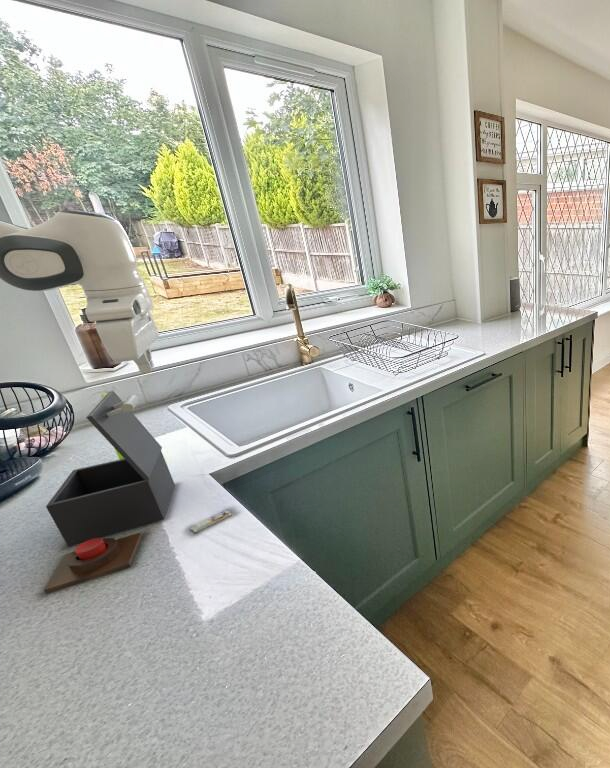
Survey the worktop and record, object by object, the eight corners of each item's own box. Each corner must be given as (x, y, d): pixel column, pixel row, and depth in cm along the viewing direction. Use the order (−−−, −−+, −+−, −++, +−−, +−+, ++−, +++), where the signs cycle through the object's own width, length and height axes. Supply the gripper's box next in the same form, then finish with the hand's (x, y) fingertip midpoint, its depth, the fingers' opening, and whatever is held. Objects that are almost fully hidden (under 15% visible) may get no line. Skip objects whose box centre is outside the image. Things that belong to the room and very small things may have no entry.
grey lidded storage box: (68, 548, 78) (45, 506, 75) (92, 508, 89) (73, 469, 86) (164, 520, 85) (147, 481, 81) (175, 486, 96) (161, 450, 92)
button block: (46, 595, 68) (38, 582, 67) (67, 559, 76) (60, 546, 75) (131, 568, 73) (125, 555, 72) (143, 537, 81) (137, 524, 79)
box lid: (85, 417, 73) (118, 404, 75) (108, 392, 84) (136, 381, 86) (144, 480, 81) (172, 467, 83) (158, 449, 92) (183, 438, 94)
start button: (75, 563, 71) (71, 555, 71) (83, 550, 74) (78, 542, 73) (103, 555, 73) (99, 547, 72) (109, 542, 76) (105, 534, 75)
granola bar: (194, 535, 81) (192, 530, 80) (190, 530, 82) (189, 525, 82) (232, 516, 85) (231, 512, 85) (228, 511, 87) (227, 507, 86)
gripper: (115, 296, 86) (140, 359, 91) (80, 314, 69) (113, 390, 74) (153, 293, 88) (175, 354, 94) (129, 309, 72) (157, 382, 77)
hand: (147, 370), depth 84 cm, fingers closed
